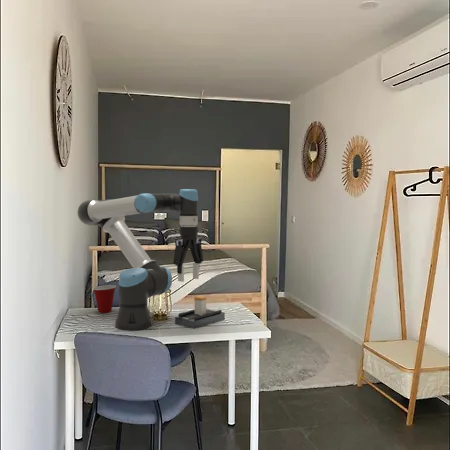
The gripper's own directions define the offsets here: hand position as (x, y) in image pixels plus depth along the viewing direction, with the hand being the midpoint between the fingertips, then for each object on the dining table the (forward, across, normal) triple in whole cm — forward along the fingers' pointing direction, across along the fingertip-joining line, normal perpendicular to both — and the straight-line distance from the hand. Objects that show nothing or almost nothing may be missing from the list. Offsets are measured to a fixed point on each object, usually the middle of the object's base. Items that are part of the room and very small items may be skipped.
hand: (188, 279), depth 208 cm
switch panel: (+19, +8, 0) cm, 21 cm away
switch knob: (+16, +8, 0) cm, 18 cm away
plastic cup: (+20, -8, +46) cm, 51 cm away
